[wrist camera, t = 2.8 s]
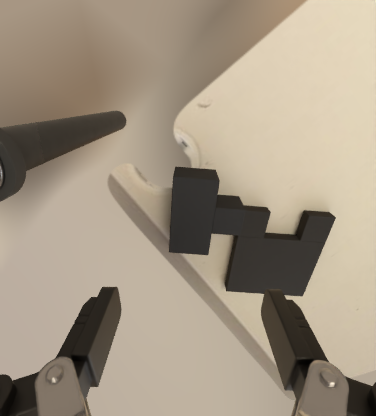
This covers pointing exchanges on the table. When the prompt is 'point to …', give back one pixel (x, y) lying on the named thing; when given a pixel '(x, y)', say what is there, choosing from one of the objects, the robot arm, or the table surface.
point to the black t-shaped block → (201, 211)
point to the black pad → (276, 253)
